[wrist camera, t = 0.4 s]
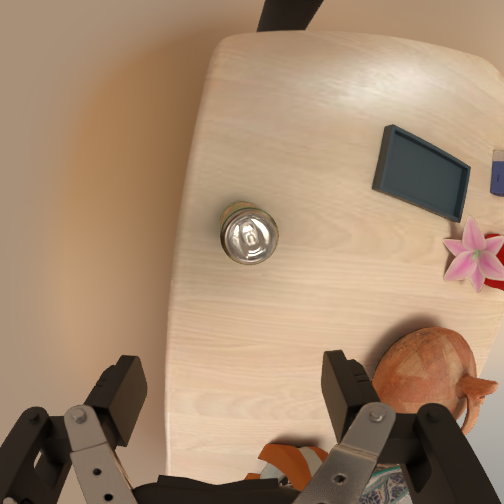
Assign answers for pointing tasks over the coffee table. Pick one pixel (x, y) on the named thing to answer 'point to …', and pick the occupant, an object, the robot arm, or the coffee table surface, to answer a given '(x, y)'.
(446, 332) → the jug
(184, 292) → the coffee table surface
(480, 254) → the lily
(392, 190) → the tray
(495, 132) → the coffee table surface
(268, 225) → the soda can
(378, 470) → the bowl
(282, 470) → the alarm clock
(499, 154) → the walkman
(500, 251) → the water bottle
